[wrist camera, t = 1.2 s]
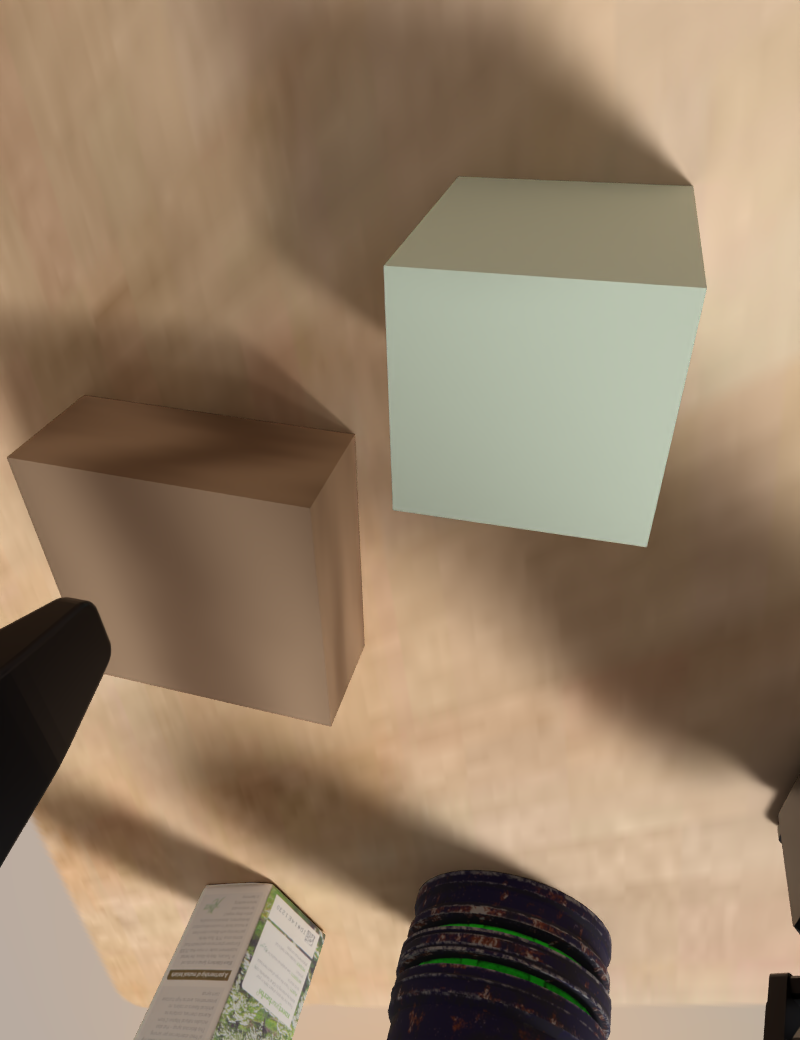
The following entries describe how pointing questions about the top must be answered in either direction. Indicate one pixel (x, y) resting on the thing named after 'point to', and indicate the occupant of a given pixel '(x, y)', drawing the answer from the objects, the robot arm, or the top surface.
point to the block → (206, 548)
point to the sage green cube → (542, 353)
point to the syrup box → (236, 969)
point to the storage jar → (501, 963)
